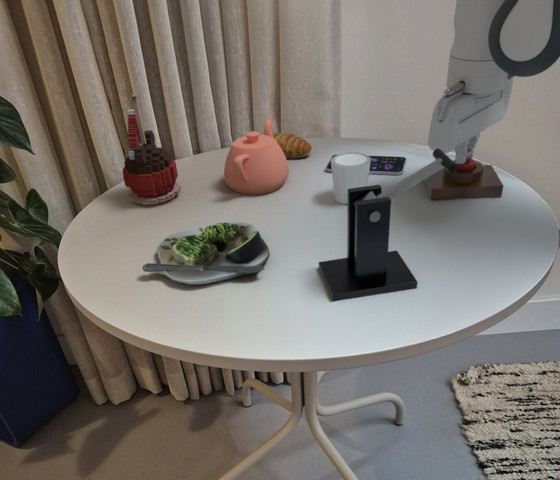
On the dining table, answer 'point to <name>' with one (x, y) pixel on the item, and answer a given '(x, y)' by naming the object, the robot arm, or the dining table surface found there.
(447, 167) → the lever
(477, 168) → the console
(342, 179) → the white cup
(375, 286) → the bracket
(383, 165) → the smartphone
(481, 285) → the dining table surface
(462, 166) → the button
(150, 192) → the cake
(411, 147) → the dining table surface
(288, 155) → the pastry
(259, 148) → the teapot
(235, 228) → the salad plate
